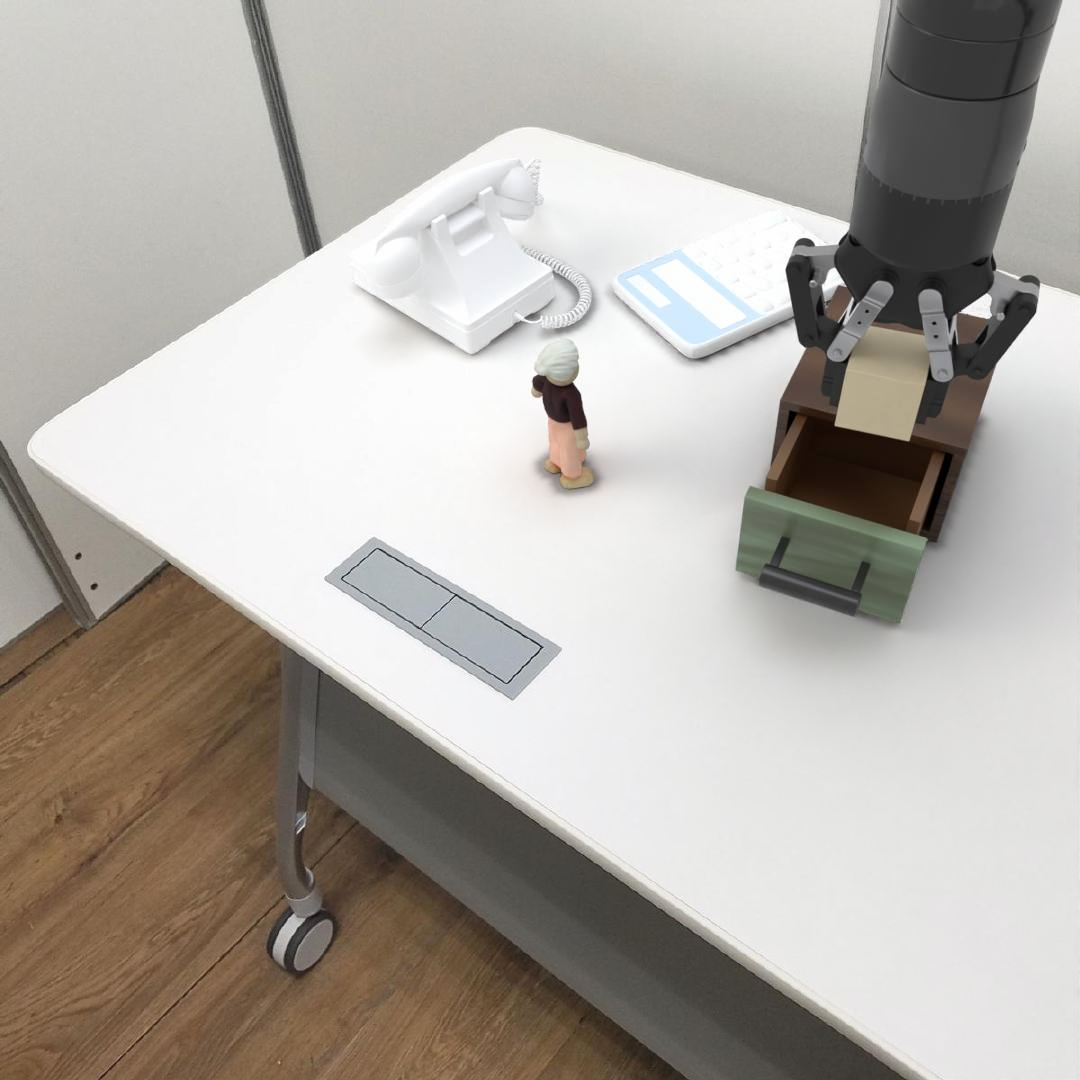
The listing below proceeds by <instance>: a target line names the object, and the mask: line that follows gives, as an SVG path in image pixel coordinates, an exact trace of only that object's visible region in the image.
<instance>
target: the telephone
mask: <svg viewBox="0 0 1080 1080" xmlns="http://www.w3.org/2000/svg"><path fill="white" fill-rule="evenodd" d="M534 163H539V164H542V160H541V159H539V158H537V157H533V158H531V159H530V160H529V161H527V162H526V163H525V164H524V165H523V163H522V161H521V159H520V158H519V157H510V158H509V157H508V158H503V159H497V160H493V161H489V162H486V163H483V164H480V165H476V166H474V167H471V168H468V169H465V170H463V171H461V172H458V173H456V174H453V175H451V176H450V177H448V178H446V179H444V180H442V181H440V182H438V183H437V184H436V185H434V186H432V187H431V188H429V189H428V190H427V191H425V192H423V193H422V194H421V195H420V196H418V197H417V198H416V199H415V200H413V201H412V202H411V203H409V204H407V205H405V206H404V209H403V210H401V212H400V213H399V214H398V215H397V216H396V217H395V218H394V219H393V220H392V221H391V222H390V223H389V225H387V226H385V227H384V228H383V229H382V232H381V233H380V234H379V235H377V236H376V237H374V238H373V239H371V240H370V241H368V242H366V243H364V244H363V245H361V246H359V247H358V248H356V249H354V250H352V251H351V252H349V253H348V259H349V262H348V263H349V268H350V273H351V277H352V281H353V283H354V284H356V285H357V286H359V287H360V289H362V290H364V291H365V292H367V293H368V294H370V295H372V296H374V297H376V298H378V299H380V300H382V301H383V302H385V303H386V304H388V305H390V306H391V307H393V308H395V309H396V310H398V311H400V312H401V313H403V314H404V315H406V316H407V317H409V318H411V319H412V320H415V322H418V323H419V324H421V325H422V326H424V327H426V328H427V329H429V330H430V331H432V332H434V333H435V334H437V335H439V336H440V337H442V338H443V339H445V340H447V341H449V342H450V343H452V344H453V345H454V346H455V347H456V348H458V349H460V350H462V351H464V352H465V353H467V354H469V355H475V354H477V353H478V352H479V351H481V350H483V349H484V348H485V347H487V346H488V345H490V344H491V342H492V340H494V339H495V338H497V337H498V336H500V335H501V334H502V333H504V332H506V331H507V330H509V329H510V328H512V327H514V324H517V323H520V322H525V323H528V324H538V323H540V322H541V327H542V328H543V329H560V328H565V327H568V326H571V325H573V324H575V323H576V322H579V321H580V320H581V319H582V318H583V317H584V316H585V315H586V314H587V312H588V311H589V308H590V307H591V304H592V299H593V293H592V289H591V286H590V284H589V282H588V281H587V279H586V278H585V277H584V276H583V275H582V274H581V273H580V272H579V271H577V270H576V269H574V268H573V267H571V266H570V265H568V264H566V263H565V262H562V261H561V260H558V259H557V258H555V257H553V256H551V255H549V254H547V253H545V252H542V251H540V250H537V249H534V248H531V247H529V246H524V245H522V244H520V243H518V242H517V240H515V238H514V236H513V235H512V233H511V232H510V230H509V228H508V226H507V224H506V222H505V220H504V219H507V220H512V221H519V222H523V221H527V220H529V219H531V218H532V216H534V211H535V206H537V207H538V206H542V205H543V204H544V201H545V198H544V195H542V194H541V193H540V192H539V180H540V173H541V172H540V170H541V165H539V164H534ZM532 168H533V169H532ZM553 272H555V273H556V274H558V275H560V276H562V277H563V278H565V279H566V280H568V281H569V282H570V283H571V284H573V285H574V286H575V288H576V289H577V290H578V293H579V300H578V302H577V304H576V305H575V306H574V308H572V309H571V310H570V311H568V312H566V313H562V314H557V315H549V316H548V315H545V316H543V315H540V319H538V320H535V321H531V320H528V319H526V317H527V316H529V315H533V314H535V313H537V312H538V311H540V310H541V309H543V308H544V307H546V306H548V305H549V304H550V301H551V300H553V299H554V298H555V297H556V293H555V276H554V274H553Z"/></svg>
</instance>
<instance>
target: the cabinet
mask: <svg viewBox="0 0 1080 1080" xmlns="http://www.w3.org/2000/svg"><path fill="white" fill-rule="evenodd" d="M851 299H852V295H851V293H850V292H849V290H848V288H847V287H844V286H840V285H838V286H837V288H836V290H835V292H834V294H833V296H832V298H831V300H829V302H828V304H827V306H826V314H827V317H828V318H830V319H832V320H834V321H836V322H838V321H839V319H840V318H841V316H842V315H843V313H844V312H845V310H846V308H847V307H848V305H849V303H850V301H851ZM989 319H990V318H986V317H981V316H976V315H973V314H967V313H963V312H959V313H957V320H956V328H957V336H958V344H966V343H972V342H973V340H974V339H975V338H976V336H977V335H978V333H979V332H980V331H981V329H982V328H983V327H984V325H985V324H986V323H987V321H988V320H989ZM870 326H874V327H879V328H885V329H890V330H896V331H901V332H907V333H912V334H918V335H923V336H924V331H922V330H917V329H912V328H910V327H907V326H905V325H902V324H900V323H889V324H884V323H878V322H872V324H871V325H870ZM825 364H826V354H825V352H824V351H823V350H822V349H820V348H818V347H816V346H815V347H812V348H807V347H805V350H804V352H803V353H802V356H801V358H800V359H799V361H798V363H797V366H796V368H795V369H794V371H793V373H792V376H791V377H790V379H789V381H788V383H787V385H786V387H785V389H784V391H783V393H782V395H781V397H780V399H779V405H778V410H777V411H778V413H777V418H776V425H775V433H774V439H773V440H774V441H773V446H772V453H771V460H770V466H769V469H770V468H771V466H772V464H773V462H774V460H775V458H776V456H777V454H778V452H779V450H780V448H781V446H782V444H783V442H784V439H785V437H786V435H787V433H788V431H789V429H790V427H791V425H792V423H793V421H794V419H795V417H796V415H797V413H801V414H805V415H809V416H813V417H816V418H820V419H824V420H827V421H831V422H835V421H836V416H837V411H838V407H835V406H830V405H829V402H830V397H828V396H823V394H822V391H821V385H822V380H823V374H824V369H825ZM996 367H997V364H996V365H995V366H994V368H993V369H992V370H991V372H990V373H989V374H988V375H987V377H985V378H984V379H981V380H974V379H971V378H969V377H968V376H967V375H961V376H957V377H955V378H953V379H952V380H951V381H950V383H949V386H948V390H947V393H946V396H945V400H944V403H943V406H942V410H941V413H940V414H939V415H938V416H937V417H936V418H931V417H927V418H926V422H925V425H923V424H918V423H914V427H913V430H912V434H911V437H910V441H906V442H909V443H913V444H917V445H920V446H924V447H928V448H932V449H935V450H939V451H943V452H947V455H946V458H945V461H944V464H943V468H942V471H941V474H940V477H939V480H938V483H937V487H936V490H935V492H934V495H933V498H932V501H931V504H930V507H929V510H928V512H927V515H926V518H925V521H924V524H923V527H922V530H921V532H920V535H919V536H922V537H925V538H927V541H932V542H936V543H937V542H938V541H939V537H940V535H941V532H942V529H943V526H944V523H945V519H946V516H947V514H948V511H949V508H950V505H951V502H952V499H953V496H954V493H955V491H956V488H957V484H958V482H959V481H958V480H959V478H960V476H961V472H962V469H963V466H964V463H965V460H966V457H967V453H968V451H969V448H970V445H971V442H972V439H973V436H974V433H975V431H976V430H975V429H976V427H977V423H978V422H979V418H980V414H981V413H982V409H983V406H984V403H985V399H986V398H987V394H988V391H989V388H990V386H991V382H992V379H993V376H994V373H995V370H996ZM894 439H895V438H894ZM898 440H900V439H898ZM902 441H905V440H902Z"/></svg>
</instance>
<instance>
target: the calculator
mask: <svg viewBox="0 0 1080 1080" xmlns="http://www.w3.org/2000/svg"><path fill="white" fill-rule="evenodd" d="M801 238H808V239H810V240H812V241H813V242H814V244H815V246H827V245H829V244H828V243H827V242H826V241H824V240H823V239H821V238H820V237H818V236H817V235H816V234H814V233H813V232H811V231H809V230H808V229H807V228H805V227H804V226H802V225H801V224H799V223H798V222H797V221H795V220H794V219H793V218H791V217H790V216H789V215H786V214H785V213H783V212H782V211H779V210H769V211H765V212H763V213H760V214H757V215H755V216H753V217H750V218H747V219H745V220H743V221H740V222H739V223H735V224H734V225H731V226H729V227H726V228H724V229H722V230H719V231H716V232H714V233H712V234H709V235H707V236H704V237H702V238H700V239H697V240H695V241H693V242H690V243H687V244H685V245H682V246H680V247H678V248H676V249H673V250H671V251H668V252H666V253H663V254H661V255H659V256H656V257H654V258H652V259H649V260H646V261H644V262H641V263H639V264H636V265H634V266H632V267H629V268H628V269H625V270H623V271H620V272H619V273H617V274H616V275H615V276H614V277H613V278H612V282H611V283H612V285H611V286H612V290H613V292H614V293H615V295H616V296H617V297H618V298H619V299H620V300H621V301H622V302H624V304H626V305H627V306H628V307H629V308H630V309H631V310H632V311H634V312H635V313H636V314H637V315H638V316H639V317H640V318H641V319H643V321H644V322H646V323H647V324H648V325H649V326H650V327H651V328H653V329H654V330H655V331H656V332H657V333H658V334H659V335H660V336H662V338H664V339H665V340H666V341H667V342H668V343H669V344H671V345H672V346H673V347H674V348H675V349H676V350H677V351H678V352H680V353H681V354H682V355H683V356H685V357H687V358H689V359H692V360H693V359H694V360H697V359H702V358H704V357H707V356H710V355H712V354H714V353H717V352H718V351H721V350H723V349H725V348H727V347H730V346H731V345H734V344H736V343H739V342H741V341H743V340H745V339H747V338H750V337H752V336H753V335H756V334H758V333H760V332H762V331H764V330H767V329H769V328H771V327H774V326H775V325H778V324H780V323H782V322H784V321H787V320H789V319H791V318H794V314H793V309H792V303H791V298H790V293H789V287H788V282H787V277H786V271H785V269H786V266H787V263H788V261H789V258H790V255H791V253H792V250H793V248H794V245H795V243H796V241H797V240H799V239H801ZM838 285H840V286H844V287H846V285H845V283H844V282H843V280H842V278H841V276H840V275H839V273H838V271H837V270H836V268H832V269H830V270H829V272H828V275H827V278H826V281H825V283H824V284H822V289H823V295H824V301H825V303H826V302H828V301H830V300H831V298H832V296H833V294H834V292H835V290H836V288H837V286H838Z"/></svg>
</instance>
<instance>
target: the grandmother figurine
mask: <svg viewBox="0 0 1080 1080" xmlns="http://www.w3.org/2000/svg"><path fill="white" fill-rule="evenodd" d="M579 359H580V355H579V350H578V347H577V345H576V344H575V343H574V341H573V340H572V339H570V338H566V337H562V338H558V339H554V340H551V341H550V342H549V343H548V344H547V345H545V346H544V347H543V348H542V350H541V351H540V353H539V354H538V355H537V359H536V361H535V362H534V365H533V370H534V371H535V372H536V373H537V374H536V375H534V376H533V377H532V380H531V382H532V383H531V384H532V386H531V390H530V394H531V395H532V397H533V398H534V399H535V398H536V399H539V398H542V399H541V400H542V404H543V409H544V411H545V413H546V415H547V418H548V420H547V428H548V429H547V430H548V435H547V436H548V453H549V457H548V459H546V460H545V462H544V464H543V465H544V468H545V470H546V471H547V472H549V473H550V474H557V473H562V475H561V476H560V478H559V483H560V485H561V486H562V487H563V488H564V489H569V490H571V489H578V488H585V487H588V486H591V485H592V484H593V483H594V482H595V474H594V472H593V470H592V469H590V468H589V467H587V466H583V462H584V461H585V460H586V458H587V450H589V448H590V446H591V442H590V439H589V432H588V431H589V430H588V420H587V416H586V414H585V410H584V409H585V408H584V403H583V398H582V394H581V393H582V392H580V390H579V389H578V387H577V386H576V384H575V383H574V381H575V380H576V379H577V378H578V376H579V373H580V364H579Z"/></svg>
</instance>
